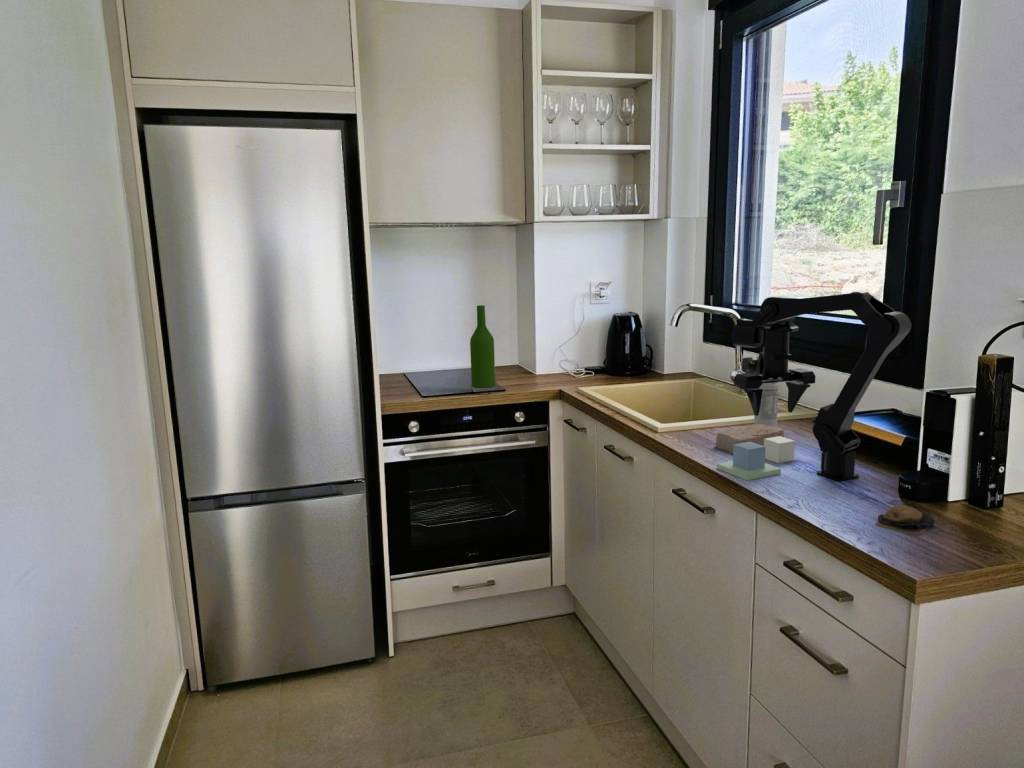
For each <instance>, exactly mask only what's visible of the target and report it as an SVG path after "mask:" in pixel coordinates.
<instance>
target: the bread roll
mask: <svg viewBox="0 0 1024 768" xmlns="http://www.w3.org/2000/svg"><path fill="white" fill-rule="evenodd" d="M934 524H935V520H934V517H932V516H931V515H930V513H928V512H921V511H919V510H918V509H917V508H914V507H912V506H909V505H903V504H899V505H893V506H891V507H890V508H889V509H887V511H886V512H884V513H883V514H879V515H878V517H877V522H875V526H876V527H879V528H880V527H881V528H884V529H888V530H892V531H896V532H899V533H904V534H907V535H911V536H919V535H921V534H922V533H924V532H926V531H928V529H930V528H931V527H932V526H933V525H934Z"/></svg>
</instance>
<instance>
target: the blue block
mask: <svg viewBox="0 0 1024 768" xmlns="http://www.w3.org/2000/svg"><path fill="white" fill-rule="evenodd" d="M765 449H766V447H765V446H762V445H759V444H756V443H753V442H745V443H739V444H734V446H733V453H732V461H733V465H734V466H737V467H739V468H742V469H745V470H747V471H749V470H754V469H760V468H765V463H766V459H765Z"/></svg>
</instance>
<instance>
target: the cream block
mask: <svg viewBox="0 0 1024 768" xmlns="http://www.w3.org/2000/svg"><path fill="white" fill-rule="evenodd" d="M764 446H765V447H766V449H765V460H768V461H771V462H774V463H777V464H780V463H785V462H786V463H787V462H792V461H795V447H796V441H795V440H794V439H790V438H787V437H785V436H784V437H781V436H778V437H772V438H766V439H764Z"/></svg>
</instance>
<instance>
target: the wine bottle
mask: <svg viewBox="0 0 1024 768" xmlns="http://www.w3.org/2000/svg"><path fill="white" fill-rule="evenodd" d="M485 307H486V306H485V305H482V304H481V305H476V325H477V326H476V327H475V328H476V329H475V330H474V331H473V333H472V335H471V336H470V341H469V347H470V348H469V349H470V370H471V371H470V375H471V376H470V377H471V378H470V379H471V388H472V387H474V388H492V387H495V386H496V359H495V358H496V357H495V340H494V336H493V335H492V334H491V332H490V330H489V328H487V324H486V323H487V321H486V308H485Z"/></svg>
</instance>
